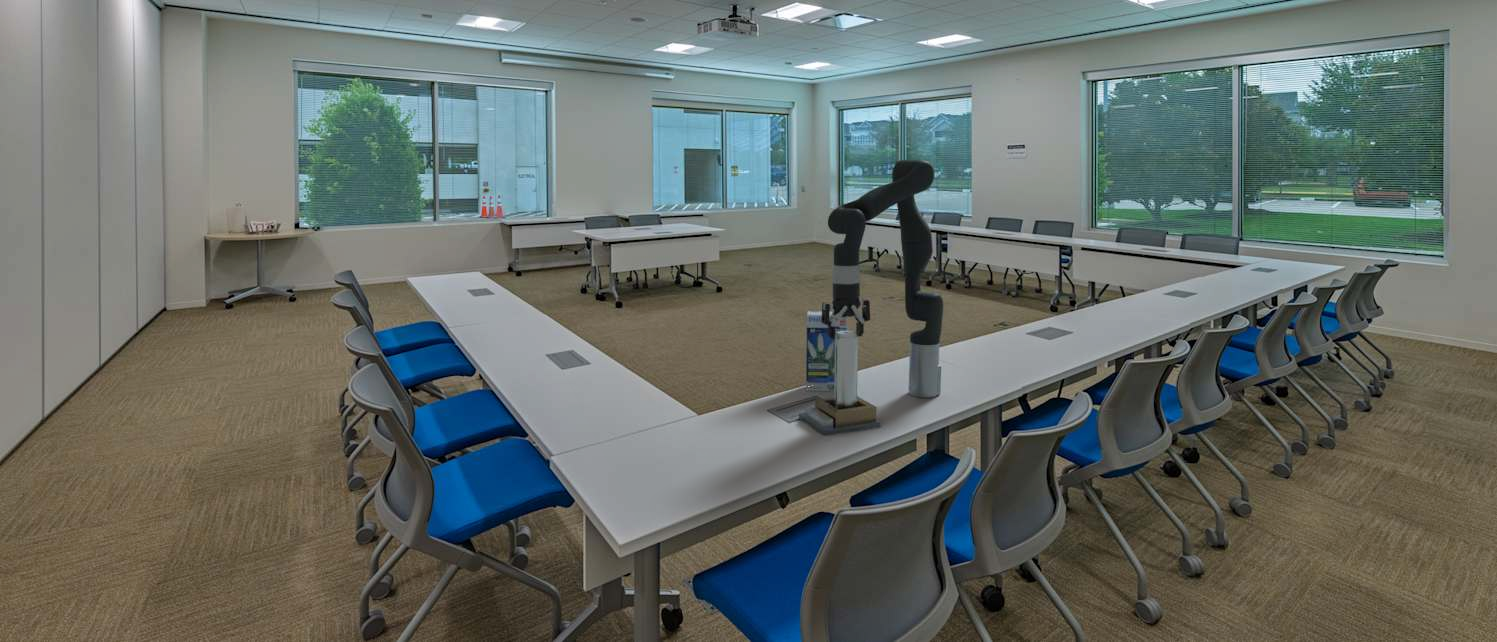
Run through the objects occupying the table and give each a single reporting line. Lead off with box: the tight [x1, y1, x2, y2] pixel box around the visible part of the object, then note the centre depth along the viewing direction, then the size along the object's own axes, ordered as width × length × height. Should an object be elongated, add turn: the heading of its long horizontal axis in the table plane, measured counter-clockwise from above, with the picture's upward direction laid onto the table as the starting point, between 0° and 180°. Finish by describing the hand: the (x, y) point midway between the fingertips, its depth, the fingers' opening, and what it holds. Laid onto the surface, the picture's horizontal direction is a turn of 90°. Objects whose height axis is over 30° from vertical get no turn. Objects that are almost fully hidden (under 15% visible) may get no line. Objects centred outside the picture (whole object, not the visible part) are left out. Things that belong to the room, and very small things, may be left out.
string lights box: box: [805, 310, 848, 393], centre depth 243 cm, size 13×8×26 cm, turn 84°
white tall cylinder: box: [833, 330, 859, 410], centre depth 210 cm, size 6×6×25 cm
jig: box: [798, 395, 882, 436], centre depth 211 cm, size 18×16×6 cm
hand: (845, 337), depth 207 cm, fingers open, 8 cm apart
